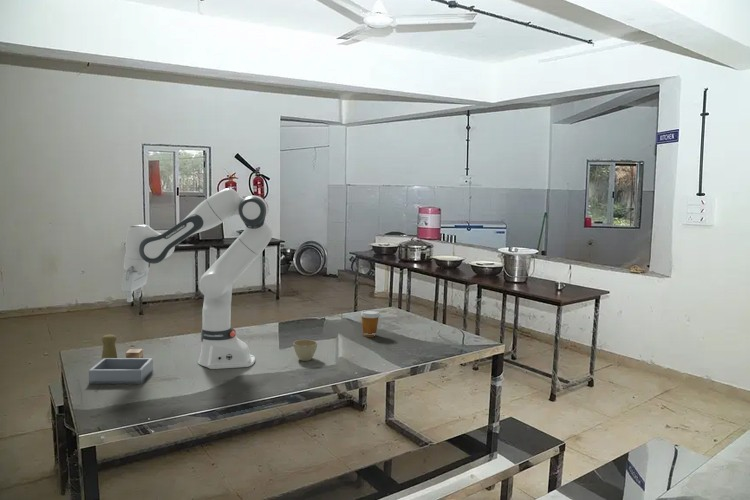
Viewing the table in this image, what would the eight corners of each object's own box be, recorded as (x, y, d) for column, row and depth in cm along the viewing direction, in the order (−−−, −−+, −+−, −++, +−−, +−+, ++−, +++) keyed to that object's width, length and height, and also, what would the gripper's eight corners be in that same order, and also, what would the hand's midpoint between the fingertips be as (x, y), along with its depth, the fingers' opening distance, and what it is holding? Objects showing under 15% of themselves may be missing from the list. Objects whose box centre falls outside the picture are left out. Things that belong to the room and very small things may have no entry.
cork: (111, 364, 218) (110, 337, 216) (97, 363, 219) (97, 336, 217) (121, 360, 223) (120, 333, 222) (108, 358, 225) (107, 332, 223)
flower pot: (321, 357, 236) (321, 341, 235) (308, 364, 227) (309, 347, 226) (301, 354, 240) (301, 338, 239) (288, 360, 231) (288, 343, 230)
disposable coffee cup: (378, 338, 269) (379, 314, 268) (359, 337, 269) (360, 313, 268) (379, 333, 278) (379, 310, 277) (360, 332, 279) (361, 309, 277)
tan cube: (143, 360, 224) (142, 349, 223) (139, 364, 219) (138, 352, 218) (130, 360, 223) (130, 348, 223) (125, 364, 218) (125, 352, 218)
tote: (152, 370, 212) (152, 358, 212) (141, 383, 198) (141, 370, 198) (104, 370, 210) (103, 358, 210) (89, 383, 197) (88, 370, 196)
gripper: (135, 269, 207) (133, 305, 209) (152, 262, 227) (149, 295, 229) (118, 268, 206) (116, 304, 208) (136, 260, 227) (133, 293, 228)
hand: (133, 299), depth 219 cm, fingers open, 8 cm apart
